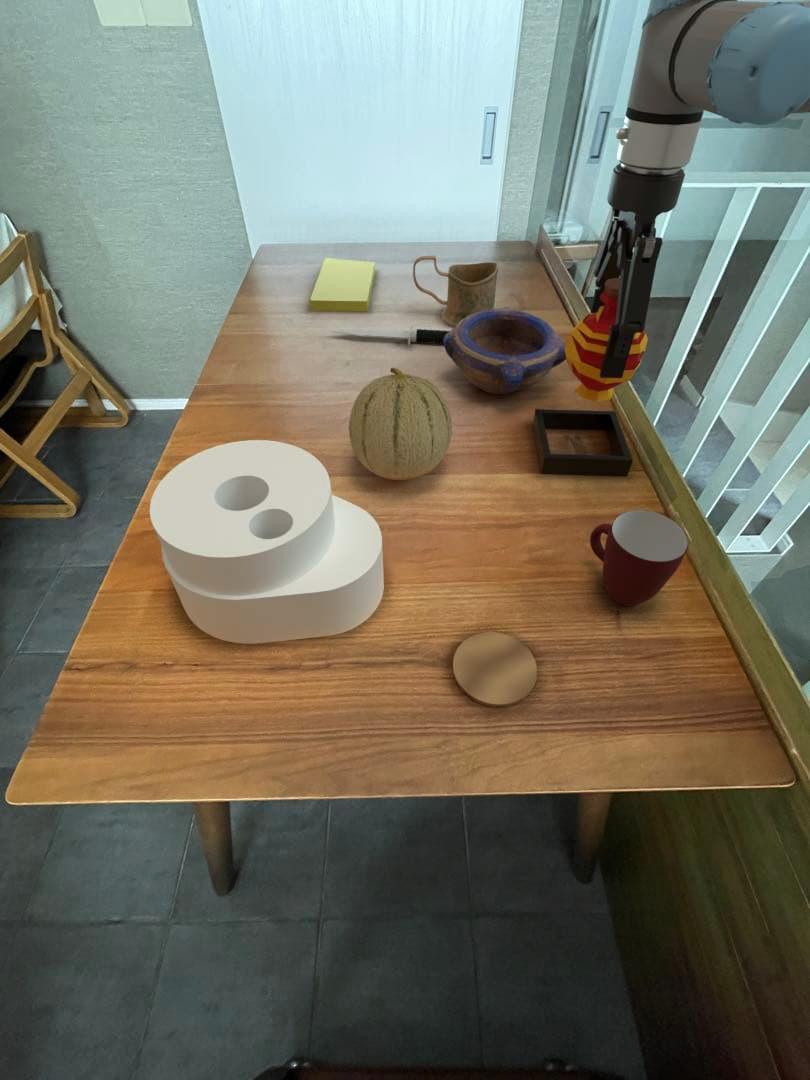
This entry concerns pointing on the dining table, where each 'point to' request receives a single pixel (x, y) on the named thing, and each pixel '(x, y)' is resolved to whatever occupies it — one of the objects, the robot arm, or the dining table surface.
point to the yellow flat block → (343, 286)
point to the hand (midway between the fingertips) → (602, 355)
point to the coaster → (494, 669)
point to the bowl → (504, 349)
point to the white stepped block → (266, 545)
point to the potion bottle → (600, 348)
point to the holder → (581, 463)
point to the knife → (400, 334)
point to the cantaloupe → (400, 426)
